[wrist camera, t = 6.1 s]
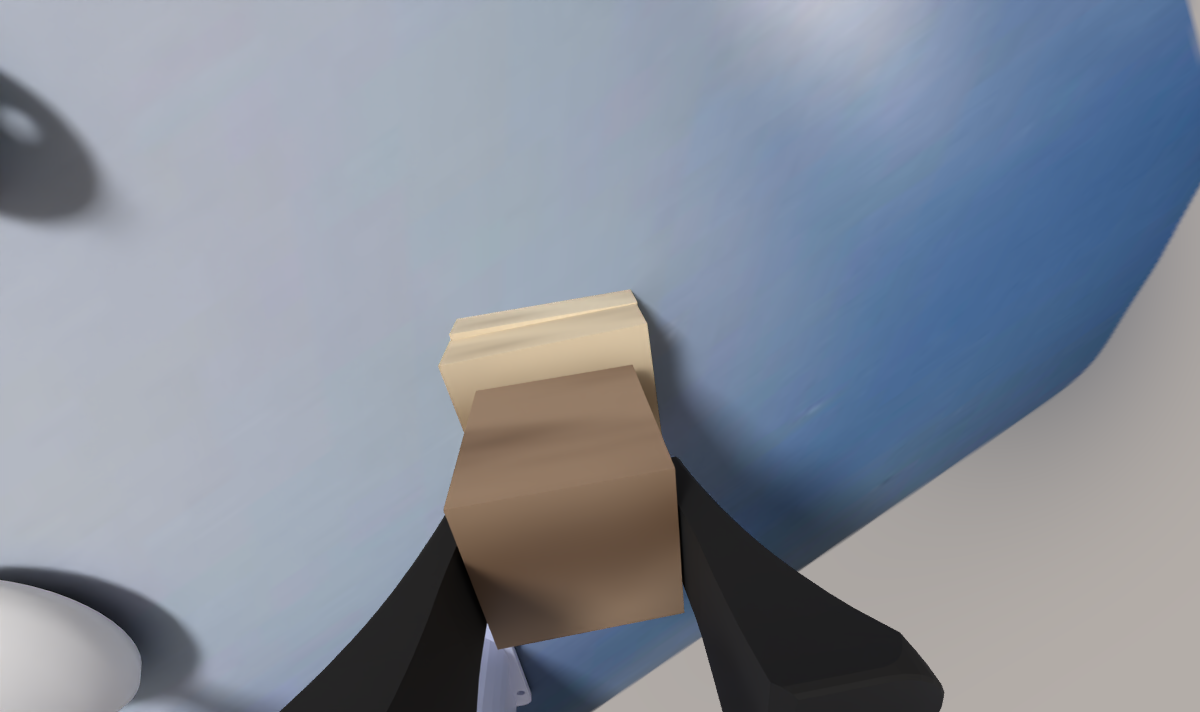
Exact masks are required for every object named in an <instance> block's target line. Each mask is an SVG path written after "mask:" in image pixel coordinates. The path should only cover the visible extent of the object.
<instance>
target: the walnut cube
mask: <svg viewBox="0 0 1200 712" xmlns="http://www.w3.org/2000/svg"><path fill="white" fill-rule="evenodd" d="M444 513H445V516H446V518H447V521H448V523H449V526H450V528H451V531H452V534H453V536H454V539H455V541H456V544H457V546H458V549H459V552H460V554H461V557H462V559H463V562H464V564H465V567H466V570H467V572H468V575H469V577H470V580H471V582H472V585H473V588H474V590H475V593H476V595H477V598H478V600H479V603H480V606H481V608H482V611H483V613H484V616H485V618H486V621H487V624H488V626H489V629H490V631H491V634H492V636H493V639H494V642H495V644H496V647H497V649H498V650H499V649H504V648H509V647H514V646H519V645H524V644H529V643H535V642H540V641H545V640H550V639H555V638H560V637H565V636H570V635H575V634H580V633H585V632H590V631H595V630H600V629H605V628H610V627H615V626H620V625H625V624H630V623H635V622H640V621H645V620H650V619H655V618H661V617H666V616H671V615H676V614H681V613H684V602H683V586H682V571H681V555H680V539H679V523H678V508H677V492H676V476H675V467H674V465H673V462H672V460H671V457H670V455H669V452H668V450H667V447H666V445H665V443H664V440H663V438H662V435H661V433H660V430H659V428H658V425H657V423H656V421H655V418H654V416H653V413H652V411H651V408H650V406H649V404H648V401H647V399H646V396H645V394H644V391H643V389H642V386H641V384H640V382H639V379H638V377H637V374H636V372H635V369H634V367H633V365H627V366H621V367H615V368H609V369H603V370H597V371H591V372H585V373H580V374H574V375H568V376H562V377H556V378H550V379H544V380H538V381H532V382H526V383H520V384H514V385H508V386H502V387H496V388H490V389H484V390H478V391H476V392H475V396H474V400H473V403H472V407H471V411H470V414H469V418H468V422H467V425H466V429H465V433H464V436H463V440H462V444H461V447H460V451H459V455H458V458H457V462H456V466H455V469H454V473H453V477H452V480H451V484H450V488H449V491H448V495H447V499H446V502H445V506H444Z"/></svg>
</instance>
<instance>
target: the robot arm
mask: <svg viewBox="0 0 1200 712" xmlns="http://www.w3.org/2000/svg"><path fill="white" fill-rule="evenodd" d="M671 460H672V462H673V465H674V467H675V476H676V492H677V508H678V523H679V539H680V555H681V571H682V582H683V585H684V588H685V590H686V593H687V596H688V598H689V601H690V604H691V606H692V609H693V612H694V614H695V617H696V620H697V623H698V626H699V629H700V632H701V635H702V638H703V642H704V646H705V649H706V653H707V656H708V660H709V663H710V667H711V671H712V674H713V678H714V682H715V685H716V689H717V693H718V696H719V700H720V703H721V707H722V711H723V712H939V711H940V709H941V707H942V702H943V698H944V690H943V688H942V685H941V683H940V682H939V680H938V679H937V678H936V676H935V675H934V673H933V672H932V671H931V669H930V668H929V666H928V665H927V664H926V662H925V661H924V660H923V659H922V658H921V657H920V655H919V654H918V653H917V652H916V650H915V649H914V648H913V647H912V646H911V645H910V644H909V642H908V641H907V640H906V639H905V638H904V637H903V635H902V634H901V633H900V632H898V631H896V630H894V629H892V628H890V627H888V626H887V625H885V624H883V623H881V622H879V621H877V620H875V619H873V618H872V617H870V616H868V615H866V614H864V613H862V612H860V611H858V610H857V609H855V608H853V607H851V606H850V605H848V604H846V603H845V602H843V601H841V600H840V599H838V598H836V597H834V596H833V595H831V594H830V593H828V592H827V591H825V590H824V589H822V588H821V587H819V586H818V585H816V584H815V583H813V582H812V581H810V580H809V579H807V578H806V577H804V576H803V575H801V574H800V573H798V572H797V571H795V570H794V569H793V568H791V567H790V566H789V565H787V564H786V563H785V562H783V561H782V560H781V559H779V558H778V557H777V556H775V555H774V554H773V553H771V552H770V551H769V550H768V549H766V548H765V547H764V546H763V545H761V544H760V543H759V542H758V541H757V540H755V539H754V538H753V537H752V536H751V535H750V534H749V533H747V532H746V531H745V530H744V529H743V528H742V527H741V526H740V525H739V524H738V523H737V522H735V521H734V520H733V519H732V518H731V517H730V516H729V515H728V514H727V513H726V512H725V511H724V510H723V509H722V508H721V507H720V506H719V505H718V504H717V503H716V502H715V501H714V500H713V499H712V498H711V496H710V495H709V494H708V493H707V492H706V491H705V490H704V489H703V488H702V487H701V485H700V484H699V483H698V482H697V481H696V480H695V479H694V477H693V476H692V475H691V474H690V472H689V471H688V470H687V469H686V467H685V466H684V465H683V463H682V462H681V461H680V459H678V458H677V457H672V458H671ZM531 696H532V694H531V691H530V688H529V686H528V683H527V680H526V677H525V675H524V672H523V669H522V667H521V664H520V661H519V659H518V656H517V653H516V650H515V648H514V647H509V648H504V649H499V650H498V649H497V647H496V644H495V642H494V639H493V636H492V634H491V631H490V629H489V626H488V624H487V621H486V618H485V616H484V613H483V611H482V608H481V606H480V603H479V600H478V598H477V595H476V593H475V590H474V588H473V585H472V582H471V580H470V577H469V575H468V572H467V570H466V567H465V564H464V562H463V559H462V557H461V554H460V552H459V549H458V546H457V544H456V541H455V539H454V536H453V534H452V531H451V528H450V526H449V523H448V521H447V518H446V516H444V518H443V519H442V521H441V522H440V524H439V526H438V527H437V529H436V530H435V532H434V533H433V535H432V537H431V538H430V540H429V541H428V543H427V544H426V546H425V547H424V549H423V550H422V552H421V553H420V555H419V556H418V558H417V559H416V560H415V562H414V563H413V565H412V566H411V567H410V569H409V570H408V572H407V573H406V574H405V576H404V577H403V578H402V580H401V581H400V582H399V584H398V585H397V587H396V588H395V589H394V591H393V592H392V593H391V594H390V596H389V597H388V598H387V600H386V601H385V602H384V603H383V605H382V606H381V607H380V608H379V610H378V611H377V612H376V613H375V614H374V616H373V617H372V618H371V619H370V620H369V621H368V623H367V624H366V625H365V626H364V627H363V628H362V630H361V631H360V632H359V633H358V634H357V635H356V636H355V637H354V638H353V639H352V641H351V642H350V643H349V644H348V645H347V646H346V647H345V648H344V649H343V650H342V651H341V652H340V653H339V654H338V655H337V656H336V657H335V659H334V660H333V661H332V662H331V663H330V664H329V665H328V666H327V667H326V668H325V669H324V670H323V671H322V672H321V673H320V674H319V675H318V676H317V677H316V678H315V679H314V680H313V681H312V682H311V683H310V684H309V685H308V686H307V687H306V688H305V689H303V690H302V691H301V692H300V693H299V694H298V695H297V696H296V697H295V698H294V699H293V700H292V701H291V702H290V703H288V704H287V705H286V706H285V707H284V708H283V709H282V710H281V711H280V712H516V707H517V706H521V705H526V704H528V703H530V702H531Z"/></svg>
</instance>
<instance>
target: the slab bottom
mask: <svg viewBox="0 0 1200 712" xmlns="http://www.w3.org/2000/svg"><path fill="white" fill-rule="evenodd" d="M635 303H636V304H637V301H636V299H635V297H634V295H633V294H632V292H631V290H624V291H618V292H612V293H607V294H601V295H595V296H589V297H583V298H577V299H571V300H566V301H560V302H554V303H548V304H542V305H536V306H530V307H524V308H519V309H513V310H507V311H501V312H495V313H489V314H483V315H477V316H472V317H466V318H460V319H457V320H456V322H455V324H454V326H453V328H452V330H451V332H450V334H449V335H450V338H451V340H456V339H461V338H466V337H471V336H476V335H481V334H486V333H491V332H496V331H501V330H506V329H511V328H516V327H521V326H525V325H530V324H535V323H540V322H545V321H550V320H555V319H560V318H565V317H570V316H575V315H580V314H585V313H590V312H595V311H600V310H605V309H610V308H615V307H620V306H625V305H630V304H635ZM637 306H638V305H637Z"/></svg>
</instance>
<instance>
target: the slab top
mask: <svg viewBox="0 0 1200 712" xmlns="http://www.w3.org/2000/svg"><path fill="white" fill-rule="evenodd" d="M627 365H633V367H634V369H635V372H636V374H637V377H638V379H639V382H640V384H641V386H642V389H643V391H644V394H645V396H646V399H647V401H648V404H649V406H650V408H651V411H652V413H653V416H654V418H655V421H656V423H657V425H658V428H659V430H660V433H661V425H660V418H659V410H658V403H657V395H656V387H655V380H654V372H653V364H652V357H651V349H650V342H649V334H648V326H647V322H646V321H645V319H644V317H643V315H642V313H641V311H640V310H639V308H638V306H637V304H636V303H635V304H630V305H625V306H620V307H615V308H610V309H605V310H600V311H595V312H590V313H585V314H580V315H575V316H570V317H565V318H560V319H555V320H550V321H545V322H540V323H535V324H530V325H525V326H521V327H516V328H511V329H506V330H501V331H496V332H491V333H486V334H481V335H476V336H471V337H466V338H461V339H456V340H451V341H450V342H449V344H448V346H447V348H446V350H445V353H444V355H443V357H442V359H441V361H440V363H439V365H438V367H439V370H440V372H441V375H442V377H443V380H444V382H445V385H446V387H447V390H448V392H449V395H450V398H451V400H452V403H453V405H454V408H455V410H456V413H457V415H458V418H459V421H460V423H461V426H462V428H463V431H464V433H465V429H466V425H467V422H468V418H469V414H470V411H471V407H472V403H473V400H474V396H475V392H476V391H478V390H484V389H490V388H496V387H502V386H508V385H514V384H520V383H526V382H532V381H538V380H544V379H550V378H556V377H562V376H568V375H574V374H580V373H585V372H591V371H597V370H603V369H609V368H615V367H621V366H627ZM661 435H662V433H661Z"/></svg>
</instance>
